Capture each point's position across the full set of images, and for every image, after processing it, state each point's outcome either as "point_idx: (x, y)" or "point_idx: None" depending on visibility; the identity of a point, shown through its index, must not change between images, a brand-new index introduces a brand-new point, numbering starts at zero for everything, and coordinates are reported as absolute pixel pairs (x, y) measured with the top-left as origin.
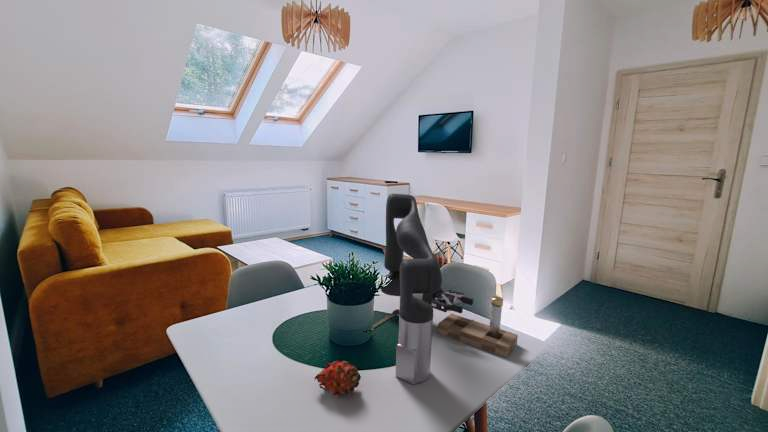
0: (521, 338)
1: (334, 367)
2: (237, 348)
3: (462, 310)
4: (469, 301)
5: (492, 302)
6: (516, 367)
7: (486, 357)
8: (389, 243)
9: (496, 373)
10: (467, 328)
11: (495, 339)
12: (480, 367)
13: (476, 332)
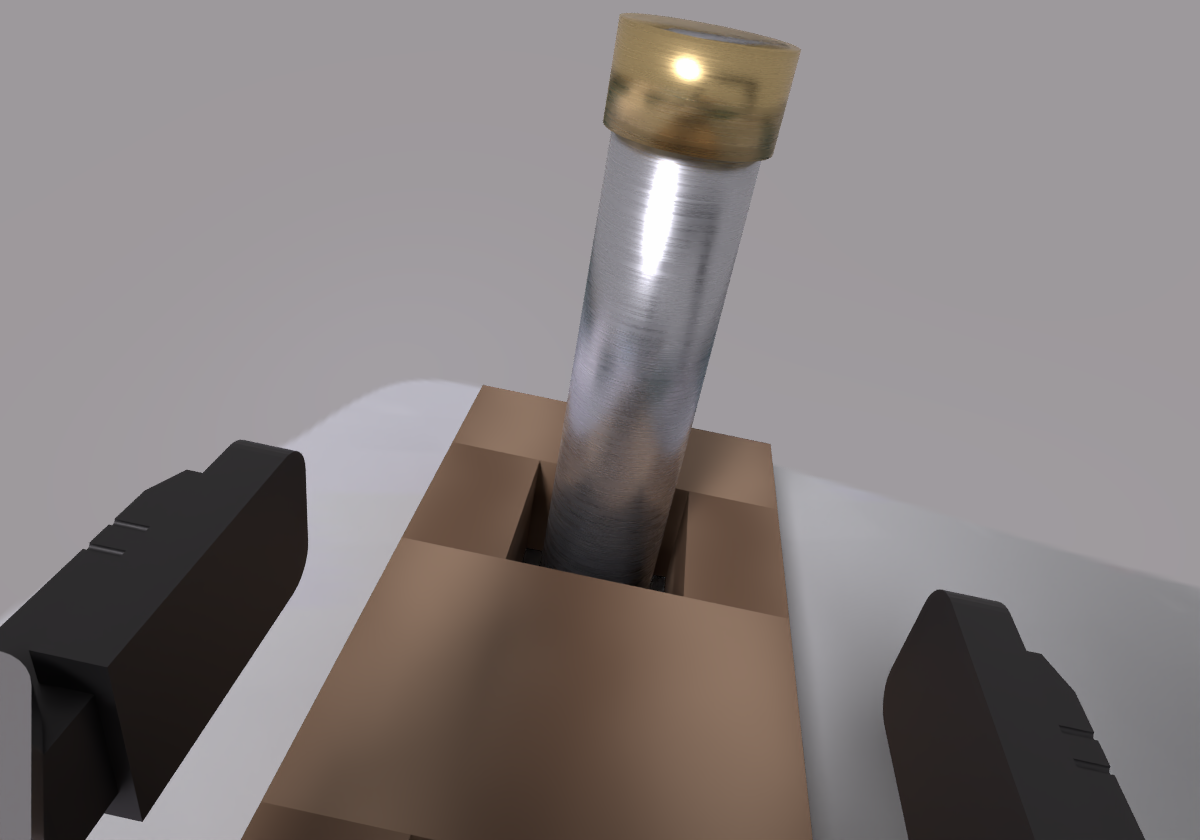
0: (335, 439)
1: None
2: None
3: (913, 645)
4: (260, 559)
5: (774, 112)
6: (818, 481)
7: (870, 648)
8: None
9: (1010, 574)
10: (649, 825)
11: (706, 512)
12: (1063, 675)
13: (690, 685)
